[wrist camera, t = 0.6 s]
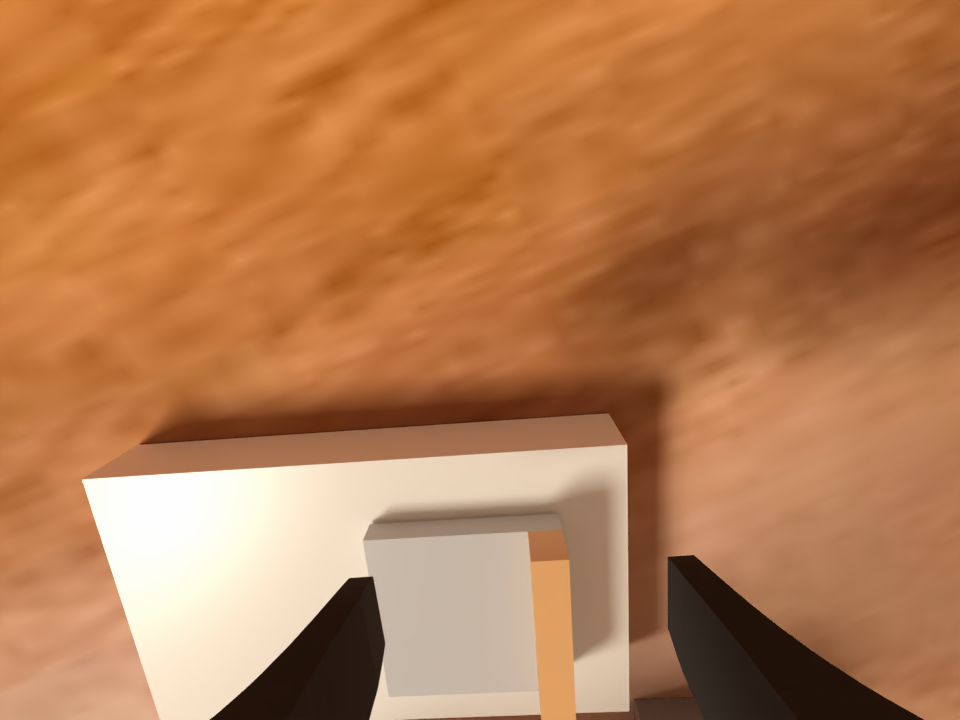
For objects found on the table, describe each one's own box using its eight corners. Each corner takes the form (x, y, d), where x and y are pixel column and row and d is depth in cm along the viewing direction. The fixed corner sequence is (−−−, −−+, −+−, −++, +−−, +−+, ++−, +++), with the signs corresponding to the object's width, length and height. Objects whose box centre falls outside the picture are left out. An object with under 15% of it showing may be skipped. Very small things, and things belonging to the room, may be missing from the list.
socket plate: (612, 651, 23) (629, 711, 21) (201, 668, 24) (162, 728, 22) (608, 413, 20) (627, 444, 17) (138, 444, 21) (82, 479, 18)
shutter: (566, 667, 20) (576, 731, 17) (394, 674, 20) (379, 738, 18) (558, 513, 18) (569, 559, 16) (369, 524, 18) (349, 571, 16)
